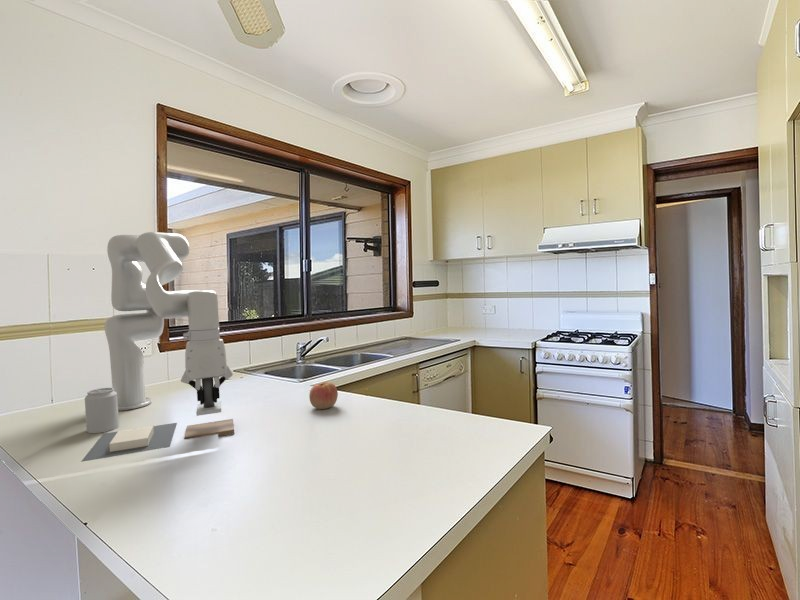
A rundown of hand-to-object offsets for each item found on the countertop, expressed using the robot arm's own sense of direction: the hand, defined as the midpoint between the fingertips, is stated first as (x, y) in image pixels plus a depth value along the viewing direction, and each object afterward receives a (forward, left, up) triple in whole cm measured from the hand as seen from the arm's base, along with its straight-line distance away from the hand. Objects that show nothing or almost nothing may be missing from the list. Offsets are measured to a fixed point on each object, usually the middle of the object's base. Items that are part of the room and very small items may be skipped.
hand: (208, 401), depth 115 cm
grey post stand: (0, 0, -2) cm, 2 cm away
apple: (-6, +33, -9) cm, 35 cm away
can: (-16, -28, -9) cm, 34 cm away
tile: (-4, -18, -6) cm, 20 cm away
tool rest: (0, 0, -8) cm, 8 cm away
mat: (-1, -18, -8) cm, 20 cm away
